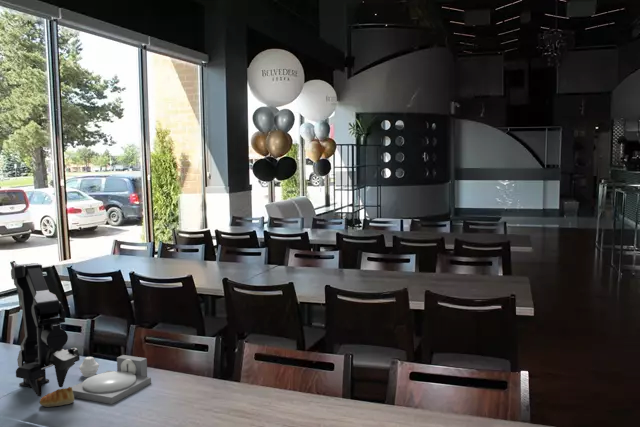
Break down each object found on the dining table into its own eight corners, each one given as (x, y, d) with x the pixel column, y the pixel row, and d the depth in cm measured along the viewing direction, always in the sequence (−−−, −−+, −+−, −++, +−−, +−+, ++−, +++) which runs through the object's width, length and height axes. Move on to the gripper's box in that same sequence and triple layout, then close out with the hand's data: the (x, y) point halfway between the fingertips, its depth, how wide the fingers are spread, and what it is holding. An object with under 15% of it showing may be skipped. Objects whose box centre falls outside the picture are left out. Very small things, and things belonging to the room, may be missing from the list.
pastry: (41, 410, 165) (40, 398, 165) (38, 402, 171) (37, 390, 170) (76, 402, 170) (75, 390, 170) (72, 394, 176) (71, 383, 175)
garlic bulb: (76, 377, 193) (75, 357, 192) (93, 372, 197) (92, 352, 197) (85, 381, 189) (84, 360, 188) (102, 376, 193) (101, 356, 193)
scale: (66, 395, 176) (65, 373, 176) (114, 373, 196) (113, 353, 195) (111, 404, 170) (111, 381, 169) (157, 380, 189) (156, 359, 189)
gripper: (42, 353, 158) (44, 407, 159) (92, 335, 175) (94, 384, 176) (13, 348, 162) (15, 401, 163) (65, 331, 179) (67, 379, 180)
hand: (50, 391), depth 171 cm, fingers open, 8 cm apart
